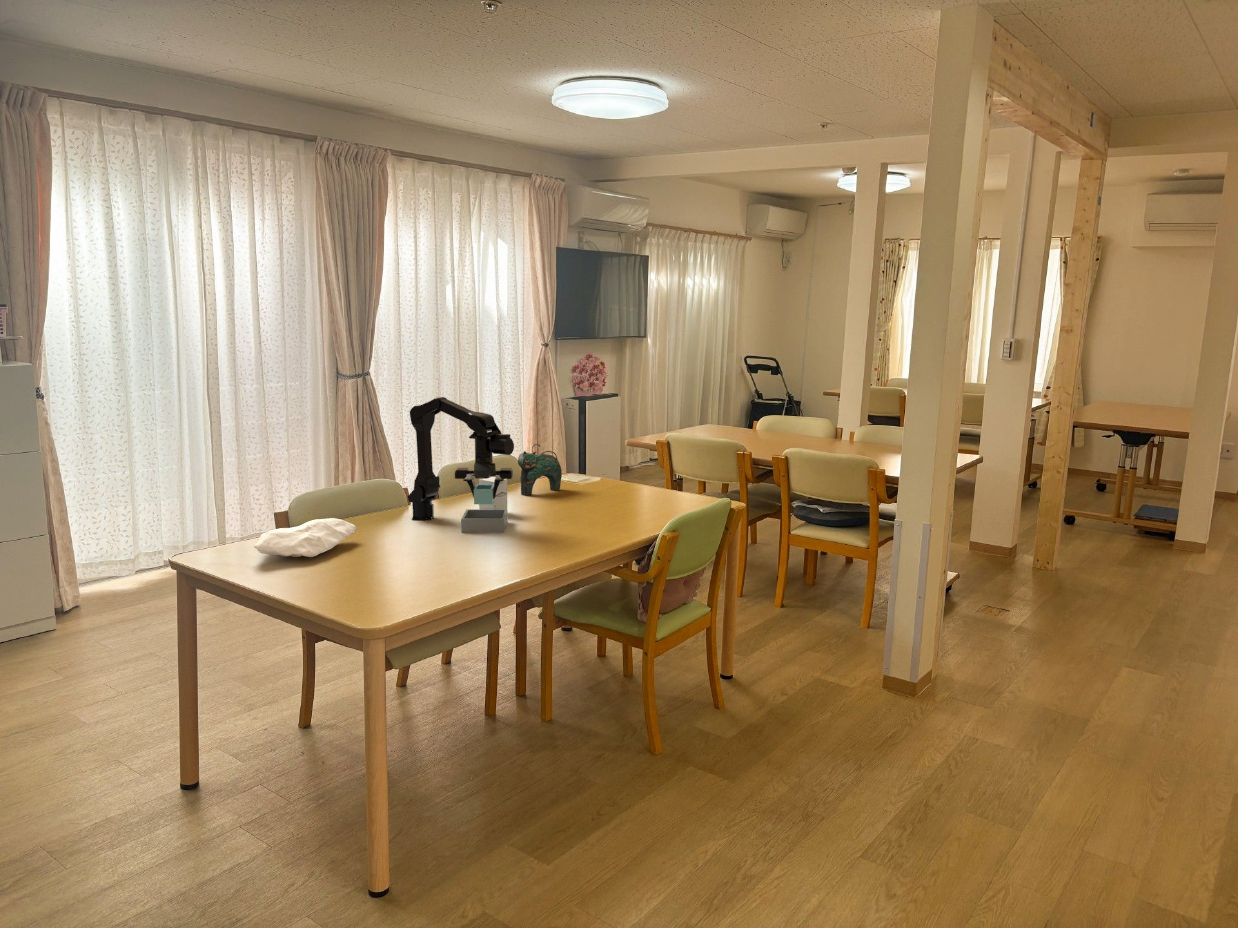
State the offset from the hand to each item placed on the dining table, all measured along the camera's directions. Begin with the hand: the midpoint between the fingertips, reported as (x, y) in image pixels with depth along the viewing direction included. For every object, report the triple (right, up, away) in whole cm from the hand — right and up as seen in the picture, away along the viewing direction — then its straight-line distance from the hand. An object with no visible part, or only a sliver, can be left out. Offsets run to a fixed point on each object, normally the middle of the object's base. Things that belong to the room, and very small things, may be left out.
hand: (484, 498), depth 294 cm
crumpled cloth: (-50, -15, -30) cm, 60 cm away
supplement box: (0, -6, +21) cm, 22 cm away
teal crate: (0, -1, 0) cm, 1 cm away
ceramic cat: (+13, 0, +58) cm, 59 cm away
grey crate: (0, -10, +2) cm, 10 cm away
